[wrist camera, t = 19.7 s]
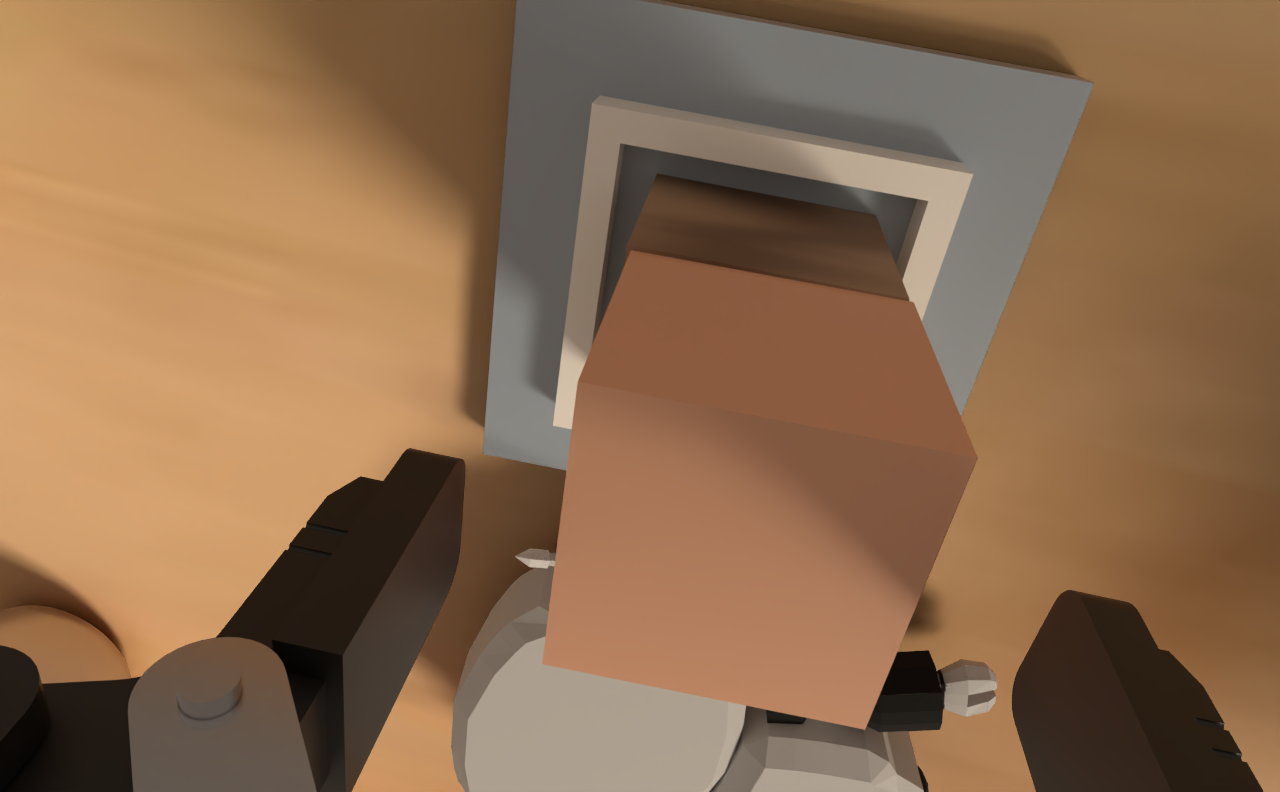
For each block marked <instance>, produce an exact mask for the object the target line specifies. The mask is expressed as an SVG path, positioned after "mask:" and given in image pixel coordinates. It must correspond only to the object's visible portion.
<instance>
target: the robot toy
mask: <svg viewBox="0 0 1280 792" xmlns="http://www.w3.org/2000/svg"><path fill="white" fill-rule="evenodd" d="M515 557H516V558H518V559H519V560H520V561H522V562H523V563H524V564H526V565H527V566H528V567H535V568H533V569H532V570H530V571H528V572H526V573H524V574H523V575H521V576H520V577H519V578H518V579H517V580H516V581H515V582H514V583H513V584H512V585H511V586H510V587H509V588H508V589H507V590H506V592H505V593H504V594H503V596H502V597H501V598H500V599H499V601H498V602H497V603H496V604H495V606H494V607H493V608H492V610H491V612H490V614H489V616H488V617H487V619H486V621H485V623H484V625H483V626H482V628H481V630H480V632H479V634H478V635H477V637H476V639H475V641H474V642H473V644H472V646H471V648H470V650H469V652H468V655H467V658H466V662H465V665H464V668H463V672H462V675H461V678H460V682H459V685H458V688H457V692H456V695H455V698H454V708H453V726H452V745H451V747H452V754H453V762H454V769H455V772H456V775H457V778H458V781H459V783H460V784H461V786H462V787H463V789H464V790H465V792H928V783H927V781H926V779H925V776H924V774H923V772H922V770H921V769H920V768H919V767H918V765H917V763H916V759H915V755H914V751H913V748H912V744H911V740H910V736H909V732H908V731H921V730H940V727H941V724H942V715H943V709H945V710H947V711H950V712H953V713H956V714H958V715H961V716H964V717H967V716H972V715H976V714H980V713H984V712H988V711H989V710H990V708H991V707H992V706H993V705H994V703H995V699H996V695H995V693H994V691H993V690H996V689H997V679H996V675H995V673H994V672H993V671H992V670H991V669H990V668H989V667H988V666H987V665H986V664H985V663H983V662H976V661H969V660H962V659H961V660H959V661H957V662H955V663H953V664H950V665H948V666H946V667H944V668H942V669H940V670H938V671H936V667H935V665H934V662H933V660H932V657H931V655H930V653H929V651H910V652H897V654H896V656H895V659H894V661H893V664H892V666H891V668H890V671H889V673H888V676H887V678H886V680H885V683H884V685H883V688H882V690H881V693H880V695H879V697H878V700H877V702H876V705H875V707H874V709H873V712H872V714H871V717H870V719H869V722H868V724H867V726H866V729H865V730H864V729H859V728H854V727H849V726H844V725H839V724H834V723H830V722H825V721H820V720H815V719H810V718H805V717H800V716H795V715H790V714H785V713H780V712H775V711H770V710H766V709H761V708H756V707H751V706H746V705H741V704H736V703H731V702H726V701H721V700H716V699H711V698H706V697H702V696H697V695H692V694H687V693H682V692H677V691H672V690H667V689H662V688H657V687H652V686H647V685H642V684H638V683H633V682H628V681H623V680H618V679H613V678H608V677H603V676H598V675H593V674H588V673H583V672H578V671H574V670H569V669H564V668H559V667H554V666H549V665H544V664H542V661H543V653H544V645H545V637H546V629H547V621H548V613H549V605H550V597H551V589H552V581H553V574H554V566H555V558H556V553H549V550H543V549H532V548H530V549H528V550H526V551H524V552H522V553H520V554H518V555H516V556H515Z"/></svg>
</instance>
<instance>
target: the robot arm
mask: <svg viewBox="0 0 1280 792" xmlns="http://www.w3.org/2000/svg"><path fill="white" fill-rule="evenodd" d="M464 485H465V463H464V460H463V459H458V458H454V457H449V456H444V455H439V454H435V453H430V452H425V451H421V450H416V449H411V448H409V449H407V450H406V451H405V452H404V453H403V454H402V456H401V457H400V458H399V460H398V461H397V463H396V464H395V466H394V467H393V468H392V470H391V471H390V473H389V474H388V475H387V477H386V478H385V480H384V481H379V480H375V479H370V478H365V477H359V478H357V479H355V480H354V481H352V482H350V483H349V484H347V485H345V486H344V487H342V488H340V489H339V490H337V491H335V492H333V493H332V494H330V495H328V496H327V497H326V499H325V500H324V501H323V502H322V504H321V505H320V506H319V507H318V509H317V510H316V511H315V513H314V514H313V515H312V516H311V518H310V519H309V520H308V521H307V525H306V527H305V528H302V529H301V530H300V532H299V533H298V534H297V536H296V537H295V538H294V539H293V541H292V542H291V543H290V546H289V549H288V550H285V551H284V552H283V553H282V555H281V556H280V557H279V558H278V560H277V561H276V562H275V564H274V565H273V566H272V567H271V569H270V570H269V571H268V572H267V574H266V575H265V576H264V578H263V579H262V580H261V581H260V583H259V584H258V585H257V586H256V588H255V589H254V590H253V592H252V593H251V594H250V595H249V597H248V598H247V599H246V600H245V602H244V603H243V604H242V606H241V607H240V608H239V609H238V611H237V612H236V613H235V614H234V616H233V617H232V618H231V620H230V621H229V622H228V623H227V625H226V626H225V627H224V628H223V630H222V631H221V632H220V633H219V635H218V636H217V637H216V638H211V639H206V640H201V641H197V642H194V643H191V644H188V645H185V646H183V647H181V648H178V649H176V650H174V651H172V652H171V653H169V654H167V655H165V656H164V657H162V658H161V659H160V660H158V661H157V662H155V663H154V664H153V665H152V666H151V667H150V668H149V669H148V670H147V671H146V672H144V674H143V675H142V676H141V677H136V678H130V679H120V680H103V681H84V682H65V683H46V684H42V682H41V678H40V675H39V672H38V668H37V666H36V664H35V663H34V662H33V660H32V659H31V658H30V657H29V656H27V655H26V654H25V653H23V652H21V651H19V650H17V649H14V648H10V647H6V646H1V645H0V792H351V791H352V789H353V787H354V785H355V783H356V781H357V779H358V777H359V775H360V773H361V771H362V769H363V767H364V765H365V763H366V761H367V759H368V757H369V755H370V753H371V750H372V748H373V746H374V744H375V742H376V740H377V738H378V736H379V734H380V732H381V730H382V728H383V726H384V724H385V722H386V720H387V718H388V716H389V714H390V712H391V709H392V707H393V705H394V703H395V701H396V699H397V697H398V695H399V693H400V691H401V689H402V687H403V685H404V683H405V681H406V679H407V677H408V675H409V673H410V670H411V668H412V666H413V664H414V662H415V660H416V658H417V656H418V654H419V652H420V650H421V648H422V646H423V644H424V642H425V640H426V638H427V636H428V634H429V632H430V629H431V627H432V625H433V623H434V621H435V619H436V617H437V615H438V613H439V611H440V609H441V607H442V605H443V603H444V601H445V599H446V597H447V594H448V592H449V590H450V587H451V585H452V582H453V579H454V575H455V572H456V568H457V564H458V559H459V553H460V543H461V529H462V514H463V500H464ZM1012 711H1013V717H1014V721H1015V725H1016V728H1017V731H1018V734H1019V738H1020V741H1021V744H1022V747H1023V751H1024V754H1025V757H1026V760H1027V764H1028V767H1029V770H1030V773H1031V777H1032V780H1033V783H1034V786H1035V789H1036V792H1263V790H1262V788H1261V786H1260V785H1259V783H1258V781H1257V779H1256V778H1255V776H1254V774H1253V772H1252V771H1251V769H1250V767H1249V765H1248V764H1247V762H1243V761H1242V760H1241V756H1242V753H1241V751H1240V750H1239V748H1238V746H1237V744H1236V743H1235V741H1234V739H1233V737H1232V736H1231V734H1230V732H1229V731H1227V730H1224V724H1225V723H1224V722H1223V720H1222V718H1221V717H1220V715H1219V713H1218V711H1217V710H1216V708H1215V706H1214V704H1213V703H1212V701H1211V699H1210V697H1209V696H1208V694H1207V692H1206V690H1205V689H1204V687H1203V686H1202V685H1201V684H1200V683H1199V682H1198V681H1197V680H1196V679H1195V678H1194V677H1193V676H1192V675H1191V674H1190V672H1189V671H1188V670H1187V669H1186V668H1185V667H1184V666H1183V665H1182V664H1181V663H1180V662H1179V661H1178V660H1177V659H1176V658H1175V657H1174V656H1173V655H1172V654H1171V653H1170V652H1169V651H1165V650H1160V649H1158V647H1157V645H1156V643H1155V641H1154V639H1153V638H1152V636H1151V634H1150V632H1149V630H1148V628H1147V626H1146V625H1145V623H1144V621H1143V619H1142V617H1141V615H1140V614H1139V612H1138V610H1137V609H1136V608H1135V607H1134V606H1133V605H1132V604H1130V603H1128V602H1124V601H1120V600H1115V599H1110V598H1105V597H1101V596H1096V595H1091V594H1087V593H1082V592H1077V591H1072V590H1067V591H1065V592H1063V593H1062V594H1061V595H1060V596H1059V597H1058V598H1057V599H1056V601H1055V603H1054V605H1053V606H1052V608H1051V610H1050V612H1049V614H1048V616H1047V617H1046V619H1045V621H1044V623H1043V625H1042V627H1041V629H1040V630H1039V632H1038V634H1037V636H1036V638H1035V640H1034V642H1033V643H1032V645H1031V647H1030V649H1029V651H1028V653H1027V654H1026V656H1025V658H1024V660H1023V662H1022V664H1021V666H1020V667H1019V669H1018V672H1017V674H1016V677H1015V681H1014V685H1013V692H1012Z"/></svg>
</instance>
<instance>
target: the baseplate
mask: <svg viewBox="0 0 1280 792" xmlns="http://www.w3.org/2000/svg"><path fill="white" fill-rule="evenodd" d="M1093 85H1094V83H1093V82H1091V81H1089V80H1086V79H1084V78H1082V77H1080V76H1077V75H1071V74H1066V73H1060V72H1055V71H1049V70H1044V69H1038V68H1033V67H1027V66H1021V65H1016V64H1010V63H1005V62H999V61H994V60H988V59H983V58H977V57H972V56H966V55H961V54H955V53H950V52H944V51H939V50H933V49H928V48H922V47H917V46H911V45H906V44H900V43H895V42H889V41H884V40H878V39H873V38H867V37H862V36H856V35H851V34H845V33H840V32H834V31H829V30H823V29H818V28H812V27H807V26H801V25H796V24H790V23H785V22H779V21H774V20H768V19H763V18H757V17H752V16H746V15H741V14H735V13H730V12H724V11H719V10H713V9H707V8H702V7H696V6H691V5H685V4H680V3H674V2H669V1H663V0H516V13H515V27H514V40H513V54H512V67H511V81H510V94H509V107H508V121H507V134H506V148H505V161H504V174H503V188H502V201H501V215H500V228H499V242H498V255H497V268H496V282H495V295H494V309H493V322H492V336H491V349H490V362H489V376H488V389H487V403H486V416H485V429H484V443H483V454H486V455H491V456H496V457H501V458H506V459H511V460H516V461H521V462H526V463H531V464H536V465H541V466H546V467H551V468H556V469H561V470H567V462H568V454H569V446H570V438H571V430H572V422H573V414H574V407H575V399H576V391H577V383H578V380H579V377H580V375H581V372H582V370H583V367H584V365H585V362H586V360H587V357H588V355H589V352H590V350H591V347H592V345H593V343H594V340H595V338H596V335H597V333H598V330H599V328H600V325H601V323H602V320H603V318H604V315H605V313H606V310H607V308H608V305H609V303H610V300H611V298H612V296H613V293H614V291H615V288H616V286H617V283H618V281H619V278H620V276H621V273H622V271H623V268H624V261H625V255H626V249H627V244H628V241H629V239H630V237H631V234H632V232H633V230H634V227H635V225H636V222H637V220H638V218H639V215H640V213H641V211H642V208H643V206H644V204H645V201H646V199H647V197H648V194H649V192H650V189H651V187H652V185H653V182H654V180H655V178H656V175H657V173H658V174H663V175H668V176H673V177H679V178H684V179H689V180H694V181H700V182H705V183H710V184H715V185H721V186H726V187H731V188H736V189H742V190H747V191H752V192H758V193H763V194H768V195H773V196H779V197H784V198H789V199H794V200H800V201H805V202H810V203H815V204H821V205H826V206H831V207H837V208H842V209H847V210H852V211H858V212H863V213H868V214H873V215H876V217H877V219H878V222H879V224H880V227H881V229H882V232H883V234H884V237H885V239H886V242H887V244H888V247H889V249H890V252H891V254H892V257H893V259H894V262H895V264H896V267H897V269H898V272H899V274H900V276H901V279H902V281H903V284H904V286H905V289H906V291H907V294H908V296H909V299H910V300H909V301H911V302H914V304H915V307H916V309H917V311H918V314H919V316H920V319H921V321H922V324H923V326H924V329H925V331H926V333H927V336H928V338H929V341H930V343H931V346H932V348H933V350H934V353H935V355H936V358H937V360H938V363H939V365H940V367H941V370H942V372H943V375H944V377H945V380H946V382H947V384H948V387H949V389H950V392H951V394H952V397H953V399H954V401H955V404H956V406H957V409H958V411H959V414H960V416H961V415H962V412H963V410H964V407H965V405H966V402H967V400H968V397H969V395H970V392H971V390H972V387H973V385H974V382H975V380H976V377H977V375H978V372H979V370H980V367H981V365H982V362H983V360H984V357H985V355H986V352H987V350H988V347H989V345H990V342H991V340H992V337H993V335H994V332H995V330H996V327H997V325H998V323H999V320H1000V318H1001V315H1002V313H1003V310H1004V308H1005V305H1006V303H1007V300H1008V298H1009V295H1010V293H1011V290H1012V288H1013V285H1014V283H1015V280H1016V278H1017V275H1018V273H1019V270H1020V268H1021V265H1022V263H1023V260H1024V258H1025V255H1026V253H1027V250H1028V248H1029V245H1030V243H1031V240H1032V238H1033V235H1034V233H1035V230H1036V228H1037V225H1038V223H1039V220H1040V218H1041V215H1042V213H1043V210H1044V208H1045V205H1046V203H1047V200H1048V198H1049V195H1050V193H1051V190H1052V188H1053V185H1054V183H1055V180H1056V178H1057V175H1058V173H1059V170H1060V168H1061V165H1062V163H1063V160H1064V158H1065V155H1066V153H1067V150H1068V148H1069V145H1070V143H1071V140H1072V138H1073V135H1074V133H1075V130H1076V128H1077V125H1078V123H1079V120H1080V118H1081V115H1082V113H1083V110H1084V108H1085V105H1086V103H1087V100H1088V98H1089V95H1090V93H1091V90H1092V88H1093Z"/></svg>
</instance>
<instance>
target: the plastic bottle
mask: <svg viewBox="0 0 1280 792" xmlns="http://www.w3.org/2000/svg"><path fill="white" fill-rule="evenodd" d="M0 645H1V646H6V647H10V648H14V649H17V650H19V651H21V652H23V653H25V654H26V655H27V656H29V657H30V658H31V659H32V660H33V662H34V663H35V664H36V666H37V668H38V672H39V675H40V678H41V682H42V684H46V683H65V682H84V681H103V680H120V679H130V678H131V675H130V671H129V668H128V665H127V663H126V661H125V659H124V657H123V656H122V654H121V652H120V651H119V650H118V649H117V647H116V646H115V645H114V643H113V642H112V641H110V640H109V639H108V638H107V637H106V636H105V635H104V634H103V633H102V632H101V631H99V630H98V629H97V628H95V627H94V626H92V625H91V624H89V623H88V622H86V621H84V620H82V619H81V618H79V617H77V616H75V615H72V614H70V613H68V612H65V611H63V610H59V609H55V608H52V607H47V606H39V605H23V606H18V607H13V608H8V609H3V610H0Z"/></svg>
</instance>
